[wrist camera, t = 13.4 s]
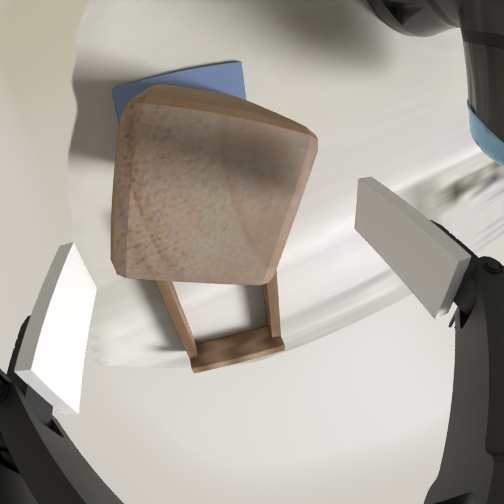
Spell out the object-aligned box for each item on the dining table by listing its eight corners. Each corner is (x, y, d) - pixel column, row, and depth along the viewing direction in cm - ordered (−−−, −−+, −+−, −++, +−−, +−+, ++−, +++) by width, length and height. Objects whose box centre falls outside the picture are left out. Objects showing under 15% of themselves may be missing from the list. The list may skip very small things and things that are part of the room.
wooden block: (241, 97, 30) (331, 135, 14) (221, 179, 35) (274, 292, 19) (151, 82, 26) (121, 95, 10) (136, 169, 31) (109, 284, 15)
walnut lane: (263, 188, 37) (276, 205, 33) (275, 329, 54) (284, 349, 50) (138, 217, 35) (134, 238, 31) (190, 350, 51) (194, 373, 47)
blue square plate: (240, 61, 28) (241, 61, 27) (253, 175, 36) (254, 176, 36) (112, 88, 26) (111, 88, 25) (141, 201, 34) (140, 202, 34)
